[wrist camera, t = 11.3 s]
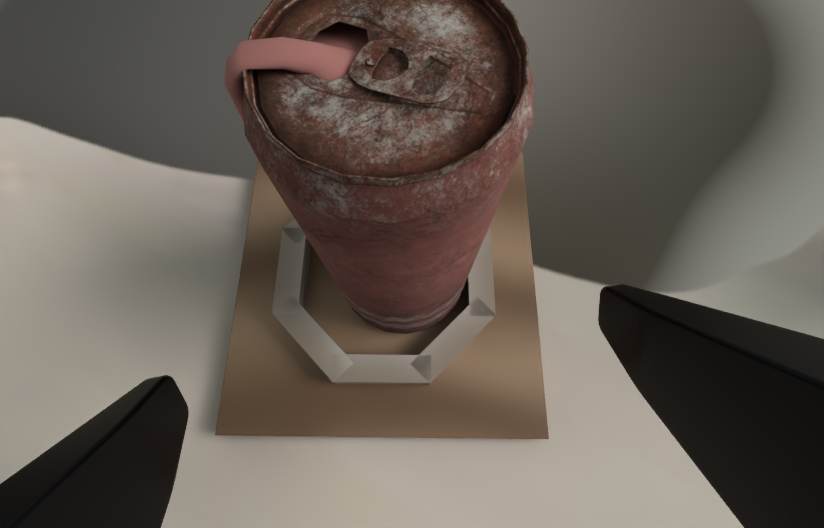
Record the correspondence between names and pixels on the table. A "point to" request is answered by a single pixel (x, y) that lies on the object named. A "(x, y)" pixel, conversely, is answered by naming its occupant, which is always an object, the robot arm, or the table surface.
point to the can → (388, 138)
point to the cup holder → (382, 342)
